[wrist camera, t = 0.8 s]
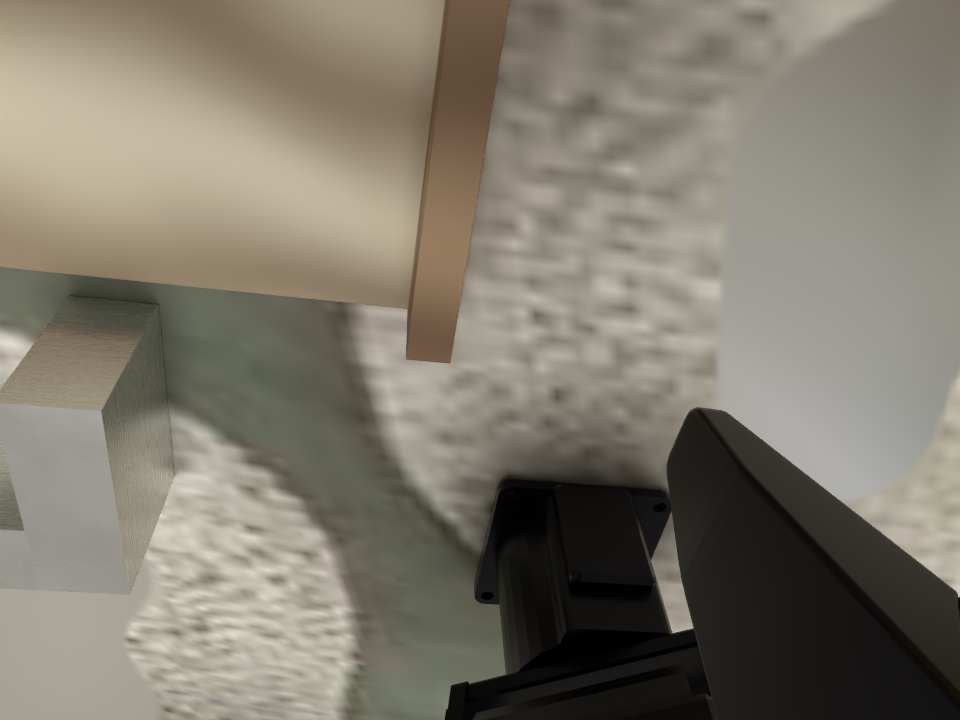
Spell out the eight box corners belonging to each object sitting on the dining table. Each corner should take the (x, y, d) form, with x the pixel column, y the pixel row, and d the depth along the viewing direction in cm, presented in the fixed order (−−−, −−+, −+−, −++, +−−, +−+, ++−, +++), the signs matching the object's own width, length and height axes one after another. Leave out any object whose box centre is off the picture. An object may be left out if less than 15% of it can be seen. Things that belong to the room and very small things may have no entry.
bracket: (174, 475, 27) (130, 594, 23) (-43, 460, 26) (-130, 581, 22) (158, 304, 23) (101, 410, 19) (-99, 279, 22) (-217, 385, 18)
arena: (447, 305, 24) (450, 363, 21) (-50, 254, 22) (-111, 311, 19) (538, -284, 16) (559, -302, 13) (-234, -447, 14) (-376, -503, 11)
